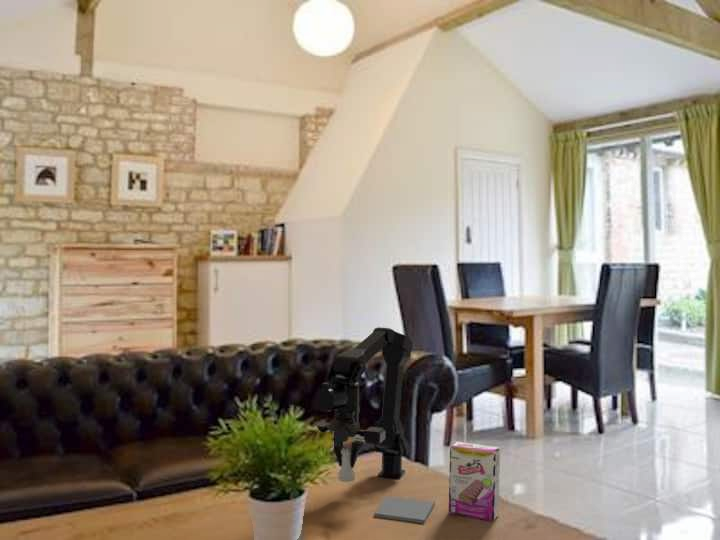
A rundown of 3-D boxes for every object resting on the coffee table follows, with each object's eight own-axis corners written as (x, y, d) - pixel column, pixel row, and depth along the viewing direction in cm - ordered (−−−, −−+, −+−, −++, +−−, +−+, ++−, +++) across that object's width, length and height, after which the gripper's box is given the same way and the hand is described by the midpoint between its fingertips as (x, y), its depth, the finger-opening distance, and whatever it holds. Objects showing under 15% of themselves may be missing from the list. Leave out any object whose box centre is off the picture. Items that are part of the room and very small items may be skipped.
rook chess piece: (356, 476, 161) (356, 445, 161) (354, 482, 156) (354, 450, 156) (338, 476, 161) (339, 445, 161) (336, 482, 157) (336, 450, 157)
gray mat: (387, 499, 159) (387, 495, 159) (434, 505, 155) (434, 501, 155) (374, 516, 147) (374, 513, 147) (424, 523, 144) (424, 520, 144)
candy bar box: (447, 514, 149) (448, 445, 149) (453, 507, 154) (454, 440, 154) (494, 523, 144) (495, 451, 144) (499, 515, 149) (500, 446, 149)
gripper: (300, 408, 154) (300, 472, 154) (373, 414, 148) (372, 480, 148) (317, 399, 165) (316, 459, 165) (386, 405, 159) (385, 467, 159)
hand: (346, 466), depth 159 cm, fingers closed on rook chess piece, 3 cm apart
